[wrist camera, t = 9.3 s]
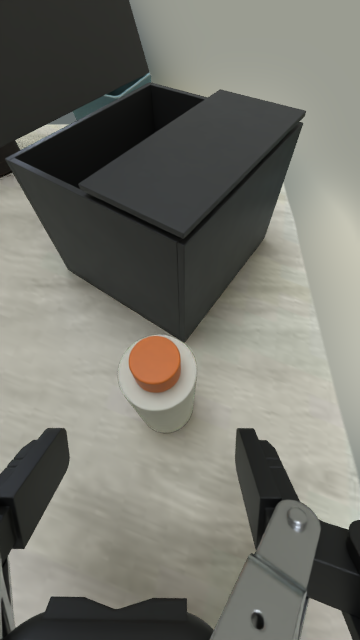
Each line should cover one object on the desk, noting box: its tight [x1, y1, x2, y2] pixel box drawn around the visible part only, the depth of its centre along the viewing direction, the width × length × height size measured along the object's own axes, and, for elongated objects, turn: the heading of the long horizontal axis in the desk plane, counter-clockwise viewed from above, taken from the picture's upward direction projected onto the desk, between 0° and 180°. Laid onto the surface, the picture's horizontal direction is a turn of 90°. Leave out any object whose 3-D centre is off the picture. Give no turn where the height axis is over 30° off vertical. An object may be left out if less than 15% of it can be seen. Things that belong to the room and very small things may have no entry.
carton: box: [5, 82, 306, 342], centre depth 25 cm, size 17×16×13 cm
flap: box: [0, 0, 149, 147], centre depth 19 cm, size 17×8×1 cm
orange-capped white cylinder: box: [118, 335, 197, 433], centre depth 17 cm, size 4×4×10 cm
